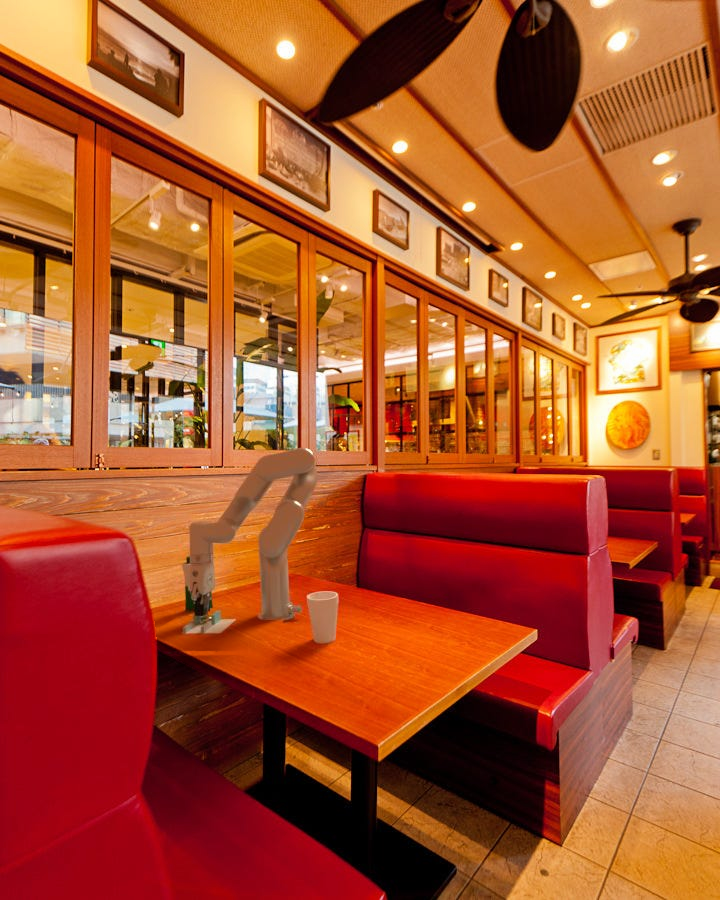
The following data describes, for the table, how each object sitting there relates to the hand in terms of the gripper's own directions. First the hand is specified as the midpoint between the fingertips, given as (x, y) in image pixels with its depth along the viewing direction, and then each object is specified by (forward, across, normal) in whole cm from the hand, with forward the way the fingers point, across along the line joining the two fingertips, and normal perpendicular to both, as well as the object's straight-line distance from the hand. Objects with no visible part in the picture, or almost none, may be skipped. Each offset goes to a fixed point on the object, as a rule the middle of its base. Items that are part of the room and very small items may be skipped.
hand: (202, 613), depth 165 cm
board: (+4, -4, -4) cm, 7 cm away
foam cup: (+3, -13, -44) cm, 46 cm away
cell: (0, 0, 0) cm, 0 cm away
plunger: (+2, 0, -1) cm, 3 cm away
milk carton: (+5, +17, +9) cm, 20 cm away
